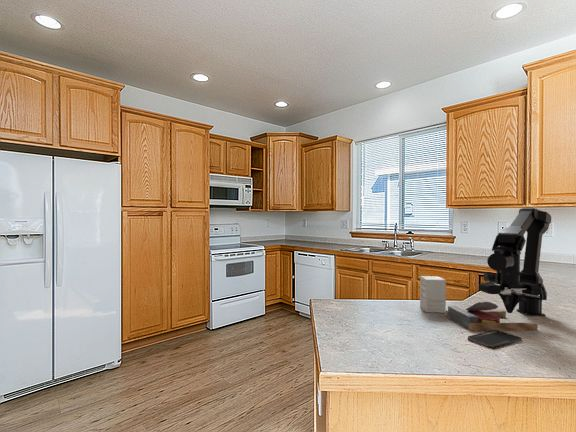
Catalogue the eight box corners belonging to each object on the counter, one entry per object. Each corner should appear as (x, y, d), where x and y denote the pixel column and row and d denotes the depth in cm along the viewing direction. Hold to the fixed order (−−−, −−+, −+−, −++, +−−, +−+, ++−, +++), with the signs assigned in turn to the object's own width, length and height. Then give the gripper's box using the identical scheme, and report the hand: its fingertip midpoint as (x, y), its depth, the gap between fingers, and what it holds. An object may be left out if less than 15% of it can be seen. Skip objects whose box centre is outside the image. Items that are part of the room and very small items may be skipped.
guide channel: (502, 315, 117) (502, 310, 117) (537, 330, 102) (537, 324, 102) (445, 315, 115) (445, 310, 115) (472, 330, 100) (472, 324, 100)
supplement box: (438, 307, 126) (439, 276, 126) (446, 313, 119) (446, 279, 119) (419, 306, 127) (419, 275, 127) (425, 312, 119) (426, 279, 119)
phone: (465, 336, 93) (496, 329, 100) (465, 340, 93) (496, 333, 100) (493, 347, 86) (524, 338, 93) (493, 351, 86) (524, 342, 93)
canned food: (470, 337, 107) (454, 309, 109) (477, 327, 114) (462, 301, 117) (505, 330, 100) (488, 300, 102) (510, 319, 107) (494, 292, 110)
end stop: (455, 317, 114) (456, 306, 114) (477, 329, 102) (478, 316, 102) (447, 317, 114) (448, 306, 114) (469, 329, 102) (469, 316, 102)
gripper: (517, 264, 118) (516, 305, 118) (469, 264, 117) (468, 306, 117) (543, 269, 107) (542, 315, 107) (490, 269, 105) (489, 316, 106)
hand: (509, 312), depth 109 cm, fingers closed
